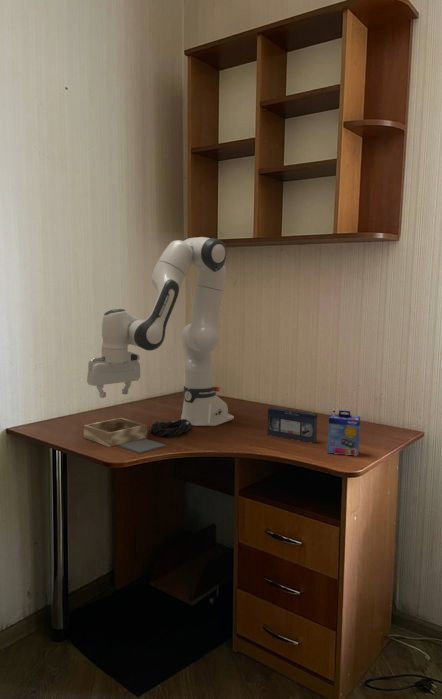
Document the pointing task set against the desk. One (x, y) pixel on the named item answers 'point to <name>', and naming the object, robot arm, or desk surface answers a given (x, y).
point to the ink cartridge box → (343, 434)
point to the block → (114, 425)
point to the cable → (180, 427)
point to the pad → (142, 445)
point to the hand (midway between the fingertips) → (114, 395)
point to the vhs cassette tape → (292, 424)
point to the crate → (115, 433)
